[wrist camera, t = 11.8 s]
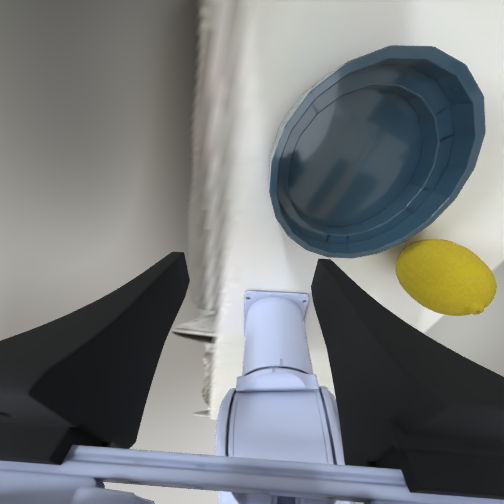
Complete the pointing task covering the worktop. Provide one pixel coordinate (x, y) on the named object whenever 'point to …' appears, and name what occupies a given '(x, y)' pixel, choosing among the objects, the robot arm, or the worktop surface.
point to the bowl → (376, 151)
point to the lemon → (445, 277)
